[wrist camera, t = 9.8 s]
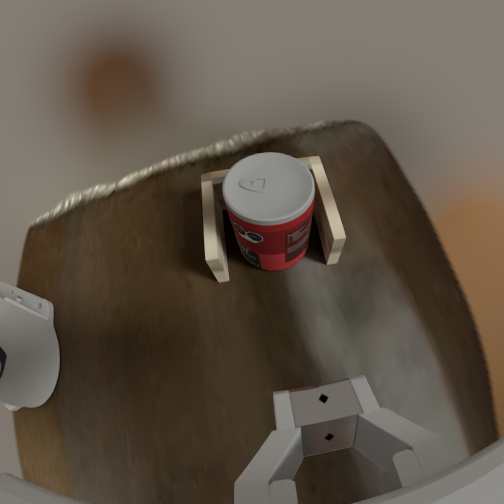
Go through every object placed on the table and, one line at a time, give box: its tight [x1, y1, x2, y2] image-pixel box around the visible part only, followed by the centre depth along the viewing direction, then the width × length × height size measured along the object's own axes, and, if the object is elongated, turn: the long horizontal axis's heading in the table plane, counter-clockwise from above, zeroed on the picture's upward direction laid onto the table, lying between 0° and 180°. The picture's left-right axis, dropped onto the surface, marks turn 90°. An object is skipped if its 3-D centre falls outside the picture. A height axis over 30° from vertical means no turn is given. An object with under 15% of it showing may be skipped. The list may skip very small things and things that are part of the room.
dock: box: [201, 156, 346, 282], centre depth 33 cm, size 11×13×6 cm
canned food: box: [222, 153, 315, 271], centre depth 30 cm, size 8×8×11 cm
